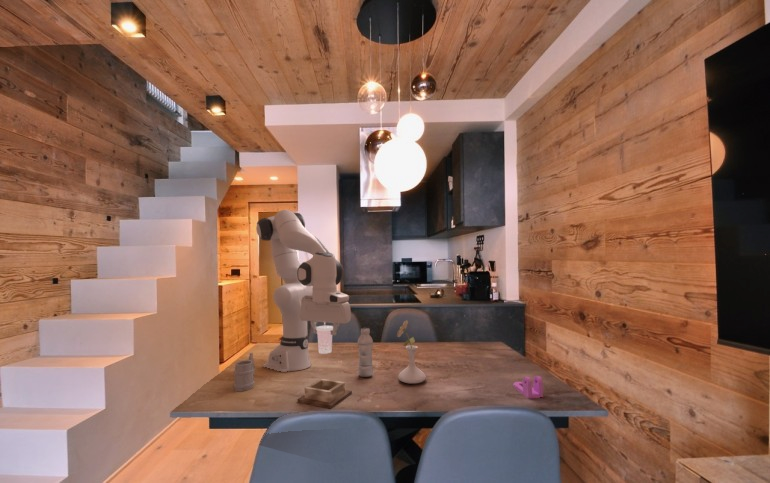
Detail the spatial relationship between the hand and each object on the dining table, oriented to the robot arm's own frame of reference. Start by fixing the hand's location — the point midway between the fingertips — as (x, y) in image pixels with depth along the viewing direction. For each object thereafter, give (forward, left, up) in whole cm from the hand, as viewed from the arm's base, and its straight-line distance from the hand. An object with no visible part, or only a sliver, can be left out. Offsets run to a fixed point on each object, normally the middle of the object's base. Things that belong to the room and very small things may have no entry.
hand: (324, 334), depth 128 cm
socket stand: (0, 0, -23) cm, 23 cm away
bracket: (+66, +34, -23) cm, 78 cm away
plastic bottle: (+3, +26, -23) cm, 35 cm away
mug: (-36, -2, -23) cm, 43 cm away
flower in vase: (+23, +27, -23) cm, 42 cm away
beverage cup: (0, 0, -7) cm, 7 cm away
